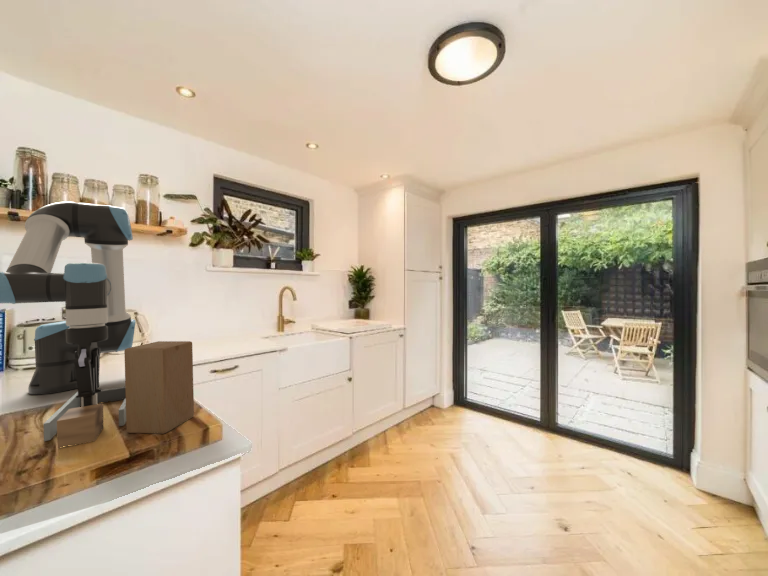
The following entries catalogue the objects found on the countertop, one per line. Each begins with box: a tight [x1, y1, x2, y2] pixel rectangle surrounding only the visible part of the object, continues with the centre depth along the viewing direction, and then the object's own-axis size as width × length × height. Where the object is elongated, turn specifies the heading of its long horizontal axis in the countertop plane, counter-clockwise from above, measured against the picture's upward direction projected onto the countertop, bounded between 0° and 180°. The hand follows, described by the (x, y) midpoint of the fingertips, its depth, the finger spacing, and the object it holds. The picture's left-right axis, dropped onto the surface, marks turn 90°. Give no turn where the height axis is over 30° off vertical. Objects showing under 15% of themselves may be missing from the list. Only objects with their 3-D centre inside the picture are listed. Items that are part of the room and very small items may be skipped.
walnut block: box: [56, 403, 105, 449], centre depth 72 cm, size 8×6×6 cm
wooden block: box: [123, 340, 195, 435], centre depth 78 cm, size 10×10×20 cm
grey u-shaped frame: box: [43, 386, 126, 442], centre depth 85 cm, size 26×14×4 cm, turn 33°
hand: (89, 421), depth 77 cm, fingers closed
